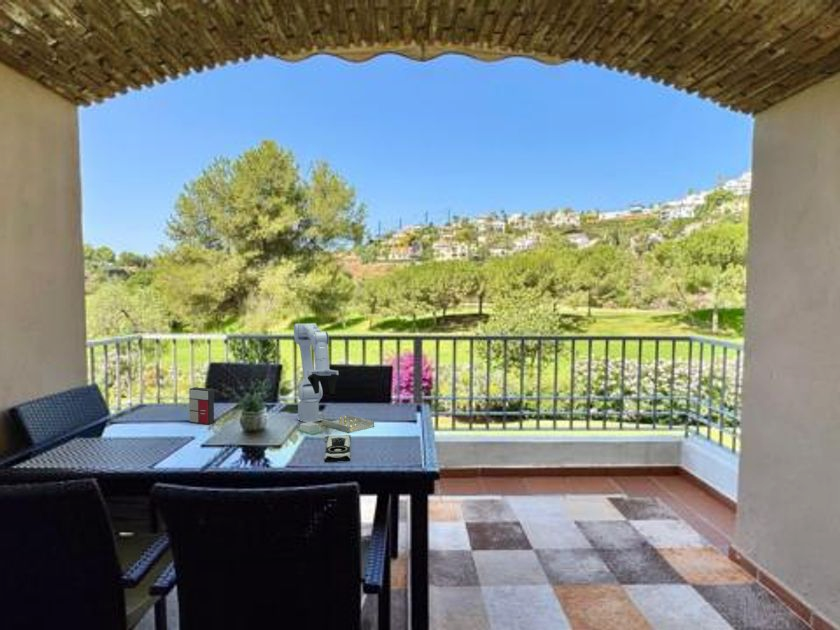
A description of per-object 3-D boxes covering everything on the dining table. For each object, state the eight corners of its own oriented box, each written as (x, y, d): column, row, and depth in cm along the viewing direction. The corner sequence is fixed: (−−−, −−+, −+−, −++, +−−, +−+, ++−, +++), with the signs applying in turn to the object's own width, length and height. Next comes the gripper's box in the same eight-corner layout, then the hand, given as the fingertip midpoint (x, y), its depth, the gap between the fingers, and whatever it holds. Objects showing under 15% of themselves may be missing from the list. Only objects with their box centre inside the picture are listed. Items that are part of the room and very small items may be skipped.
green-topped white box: (297, 431, 239) (297, 422, 239) (307, 429, 242) (307, 420, 242) (311, 436, 232) (311, 427, 232) (321, 433, 236) (321, 425, 235)
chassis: (322, 425, 248) (322, 417, 248) (347, 419, 258) (347, 412, 258) (348, 433, 235) (348, 425, 235) (374, 426, 245) (374, 419, 245)
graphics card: (350, 434, 223) (350, 453, 199) (350, 442, 224) (350, 463, 199) (324, 435, 222) (321, 454, 197) (324, 443, 222) (321, 464, 198)
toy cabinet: (188, 422, 250) (187, 388, 249) (195, 420, 254) (195, 387, 253) (208, 425, 246) (207, 390, 245) (215, 422, 250) (214, 389, 249)
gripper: (312, 357, 228) (315, 391, 224) (341, 358, 238) (344, 391, 235) (302, 361, 232) (305, 394, 229) (331, 362, 243) (334, 394, 239)
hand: (324, 393), depth 232 cm, fingers open, 7 cm apart
